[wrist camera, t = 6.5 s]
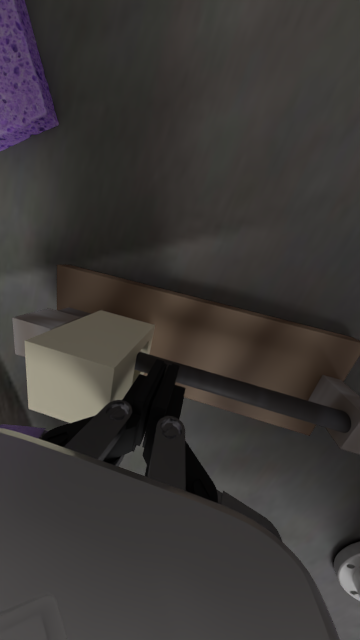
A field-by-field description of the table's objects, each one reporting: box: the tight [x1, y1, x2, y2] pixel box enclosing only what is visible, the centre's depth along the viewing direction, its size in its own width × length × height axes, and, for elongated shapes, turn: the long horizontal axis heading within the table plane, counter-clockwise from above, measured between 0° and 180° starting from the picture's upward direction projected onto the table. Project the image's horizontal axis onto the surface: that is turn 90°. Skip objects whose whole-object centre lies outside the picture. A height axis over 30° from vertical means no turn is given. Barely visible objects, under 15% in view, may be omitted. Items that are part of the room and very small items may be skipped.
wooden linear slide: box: [13, 265, 360, 455], centre depth 15 cm, size 27×10×6 cm, turn 77°
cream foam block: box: [24, 310, 155, 423], centre depth 13 cm, size 5×5×7 cm
